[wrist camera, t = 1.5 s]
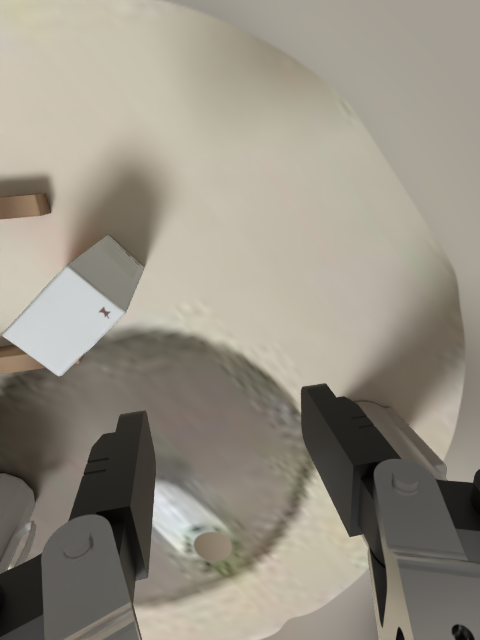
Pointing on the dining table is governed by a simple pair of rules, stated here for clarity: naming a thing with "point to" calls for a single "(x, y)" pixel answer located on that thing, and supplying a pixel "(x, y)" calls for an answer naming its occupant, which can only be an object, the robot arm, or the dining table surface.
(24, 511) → the water bottle
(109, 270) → the skincare box
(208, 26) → the dining table surface
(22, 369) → the brown wooden frame
